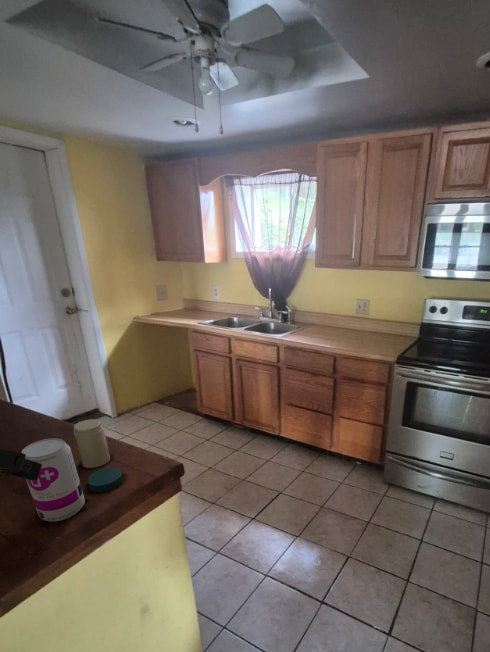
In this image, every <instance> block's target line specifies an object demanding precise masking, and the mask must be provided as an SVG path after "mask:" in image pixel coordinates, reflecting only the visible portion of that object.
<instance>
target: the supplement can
mask: <svg viewBox="0 0 490 652" xmlns="http://www.w3.org/2000/svg"><path fill="white" fill-rule="evenodd" d="M72 452H73V451H72V448H71V447H70V446H69V444H67V443H66V441H65V440H64V439H62V438H58V437H57V438H56V437H55V438H54V437H52V438H45V439H40V440H37V441H34V442H32V443H30V444H28V445H27V446H25V447H24V448H23V449H22V450H21V453H23V454H26V456H25V459H28V460H31V461H34V462H37V463H41V464H42V466H41V470H40V473H39V476H38V480H37V481H35V480H29V479H25V480H26V483H27V487H28V489H29V492H30V495H31V498H32V500H33V504H34V507H35V509H36V512H37V515H38V517H39V518H40V520H43V521H47V522H60V521H64V520H67V519H69V518H71V517H73V516H75V515H76V514H77V513H78V512H79V511H80V510H81V509H82V508H83V507H84V505H85V502H86V501H85V495H84V493H83V489H82V485H81V481H80V477H79V475H78V471H77V470H78V469H77V466H76V463H75V460H74V456H73V453H72Z"/></svg>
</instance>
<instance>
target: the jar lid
mask: <svg viewBox="0 0 490 652" xmlns="http://www.w3.org/2000/svg"><path fill="white" fill-rule="evenodd" d="M123 479H124V477H123V473H122V471H121V469H119V468H116V467H106V468H101V469H99V470H96V471H94V472H93V473H91V474H90V475H89V476H88V478H87V486H88V489H89V490H90V491H92V492H96V493H101V492H107V491H110V490H113V489H115V488H117V487H118V486H120V485H121V484H122V482H123Z"/></svg>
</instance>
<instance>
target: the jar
mask: <svg viewBox="0 0 490 652" xmlns="http://www.w3.org/2000/svg"><path fill="white" fill-rule="evenodd" d="M73 436H74V439H75V443H76V446H77V451H78V454H79V458H80V462H81V465H82V467H83V468H86V469H94V468H98V467H102V466H104V465H106V464H107V463H108V462H109V461H110V460H111V454H110V449H109V447H108V446H109V445H108V442H107V438H106V432H105V429H104V426H103V424H102V421H101V420H100V419H96V418H91V419H90V418H89V419H85V420H81V421H79V422H76V423H75V424H74V425H73Z"/></svg>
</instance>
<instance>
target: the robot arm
mask: <svg viewBox="0 0 490 652" xmlns="http://www.w3.org/2000/svg"><path fill="white" fill-rule="evenodd" d="M25 456H26V454H23V453H22V452H18V451H17V452H16V451H13V450H7V449H3V448H0V472H1V474H4V475H3V476H4V478H11V476H13V477H16V478H20V479H21V478H22V479H25V480H26V479H29V480H35V481H37V480H38V476H39V473H40V470H41V466H42V464H41V463H37V462H34V461H31V460H28V459H25Z"/></svg>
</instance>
